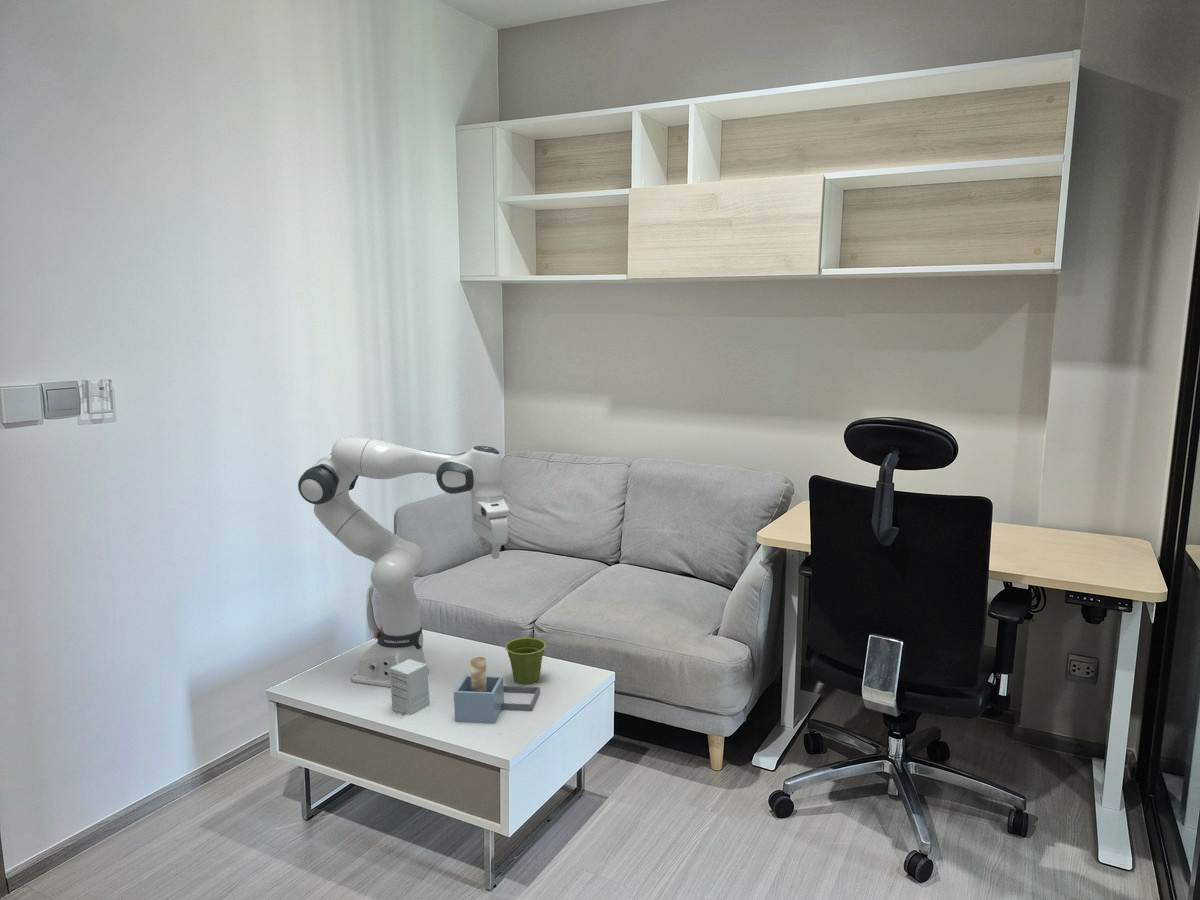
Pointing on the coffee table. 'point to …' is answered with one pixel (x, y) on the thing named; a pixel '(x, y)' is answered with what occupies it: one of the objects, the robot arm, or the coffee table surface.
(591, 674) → the coffee table surface
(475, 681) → the dowel
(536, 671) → the plant pot
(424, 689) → the supplement box
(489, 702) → the blue storage bin
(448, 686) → the coffee table surface
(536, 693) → the tray
